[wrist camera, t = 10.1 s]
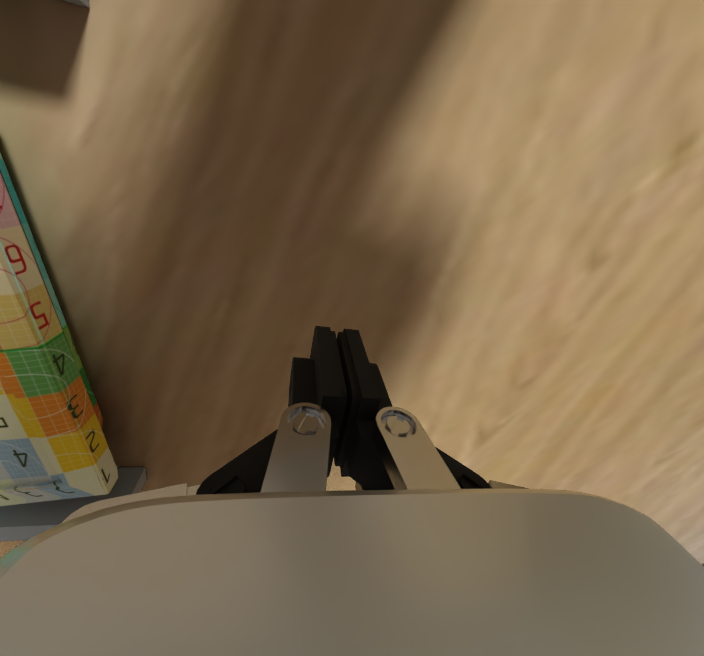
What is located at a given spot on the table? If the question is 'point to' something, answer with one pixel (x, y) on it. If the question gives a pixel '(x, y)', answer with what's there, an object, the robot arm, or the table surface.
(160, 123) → the table surface
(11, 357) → the puzzle game
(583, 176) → the table surface
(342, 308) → the table surface
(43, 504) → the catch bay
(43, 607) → the robot arm
